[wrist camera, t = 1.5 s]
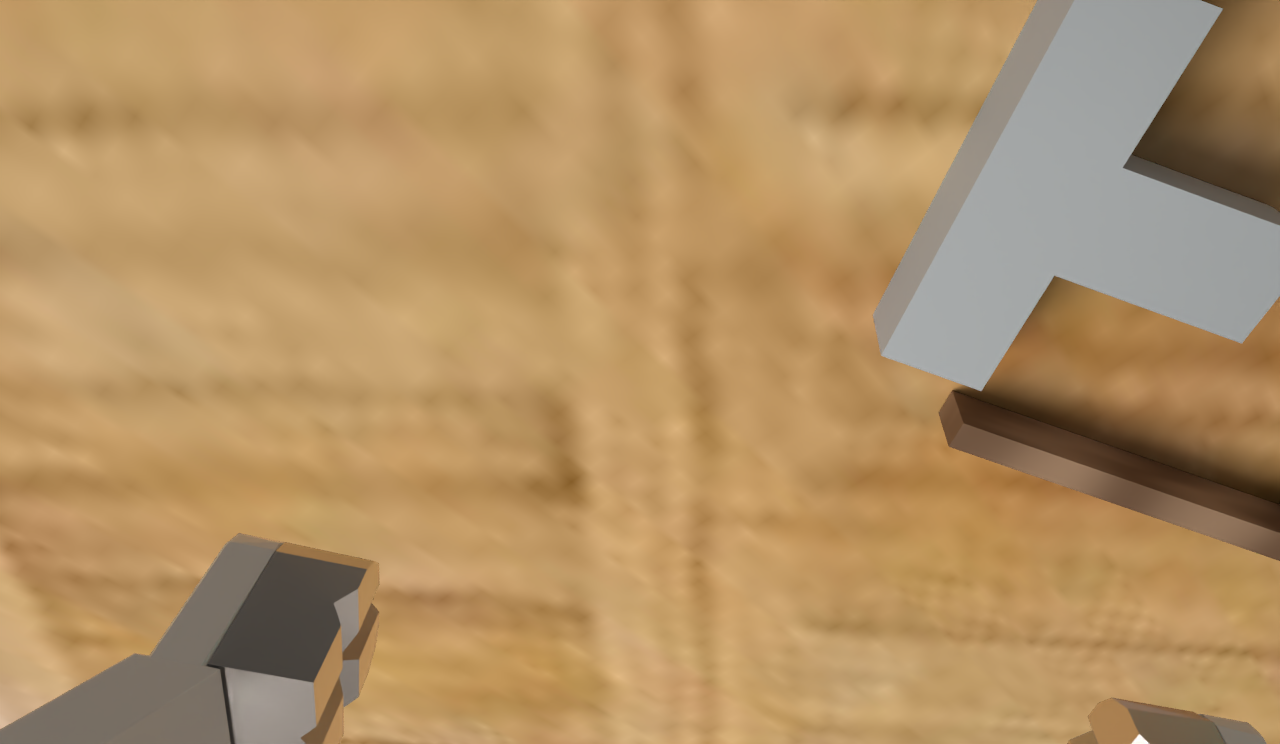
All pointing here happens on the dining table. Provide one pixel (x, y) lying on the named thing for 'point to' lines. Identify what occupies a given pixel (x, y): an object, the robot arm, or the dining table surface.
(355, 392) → the dining table surface
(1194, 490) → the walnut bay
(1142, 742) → the robot arm
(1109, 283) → the T-block
